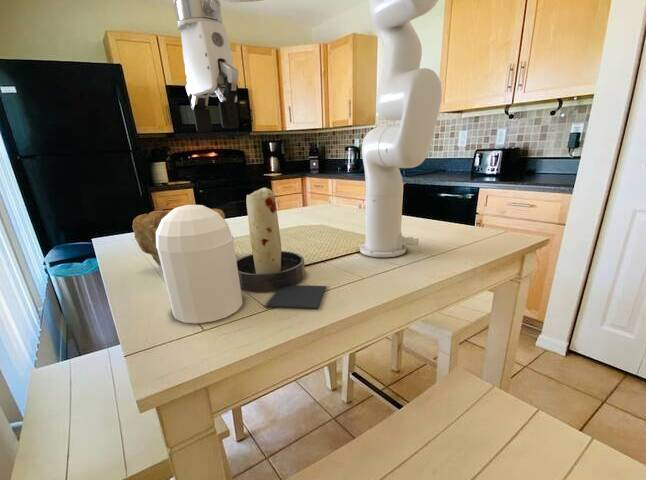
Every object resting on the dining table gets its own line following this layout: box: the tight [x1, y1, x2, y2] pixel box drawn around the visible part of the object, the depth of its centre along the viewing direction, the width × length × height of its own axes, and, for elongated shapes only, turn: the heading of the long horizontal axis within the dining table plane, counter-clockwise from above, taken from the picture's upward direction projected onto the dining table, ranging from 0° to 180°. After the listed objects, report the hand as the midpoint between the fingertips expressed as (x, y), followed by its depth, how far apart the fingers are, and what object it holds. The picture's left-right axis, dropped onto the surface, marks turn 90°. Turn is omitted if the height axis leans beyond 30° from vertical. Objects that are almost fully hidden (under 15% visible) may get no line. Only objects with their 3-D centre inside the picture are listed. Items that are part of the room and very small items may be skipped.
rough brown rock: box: [131, 208, 226, 268], centre depth 85 cm, size 23×17×15 cm
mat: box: [266, 284, 327, 310], centre depth 68 cm, size 10×10×1 cm
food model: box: [245, 187, 282, 274], centre depth 75 cm, size 10×7×20 cm
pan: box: [236, 250, 306, 293], centre depth 78 cm, size 16×16×4 cm
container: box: [156, 204, 243, 324], centre depth 63 cm, size 14×13×20 cm
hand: (217, 129), depth 63 cm, fingers open, 9 cm apart
